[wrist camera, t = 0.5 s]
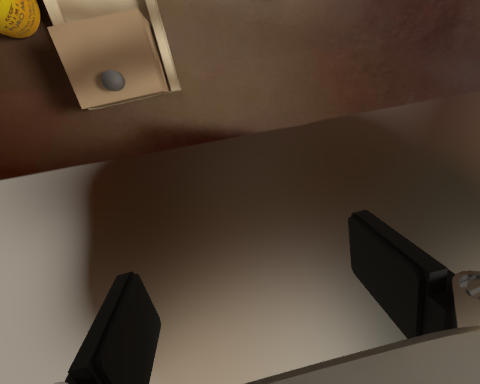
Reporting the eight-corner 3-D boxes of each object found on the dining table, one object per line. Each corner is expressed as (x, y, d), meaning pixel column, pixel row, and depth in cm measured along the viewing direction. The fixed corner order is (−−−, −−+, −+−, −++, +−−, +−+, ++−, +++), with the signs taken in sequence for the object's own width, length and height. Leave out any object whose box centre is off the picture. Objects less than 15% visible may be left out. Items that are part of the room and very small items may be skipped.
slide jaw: (76, 40, 31) (39, 23, 24) (150, 24, 31) (134, 4, 24) (103, 107, 34) (76, 109, 27) (170, 92, 34) (160, 90, 27)
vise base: (18, -85, 27) (-54, -154, 20) (127, -106, 28) (96, -181, 20) (96, 109, 35) (66, 112, 27) (181, 90, 35) (173, 88, 28)
